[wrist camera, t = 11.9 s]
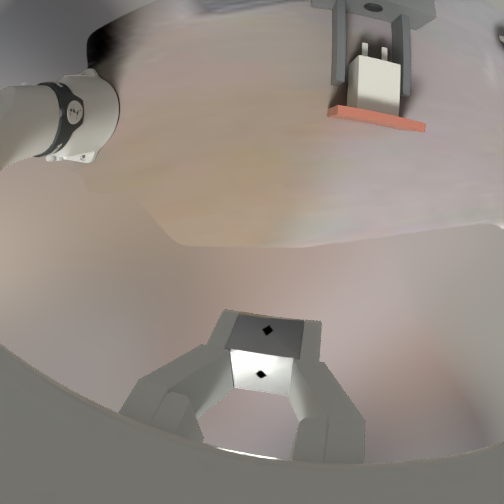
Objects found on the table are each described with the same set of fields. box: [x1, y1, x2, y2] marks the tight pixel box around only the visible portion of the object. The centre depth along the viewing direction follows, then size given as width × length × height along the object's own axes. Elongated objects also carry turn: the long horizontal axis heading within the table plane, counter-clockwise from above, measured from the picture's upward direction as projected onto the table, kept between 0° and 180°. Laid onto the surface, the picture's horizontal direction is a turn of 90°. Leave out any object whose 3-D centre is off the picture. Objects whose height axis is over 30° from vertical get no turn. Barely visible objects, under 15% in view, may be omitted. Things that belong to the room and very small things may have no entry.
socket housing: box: [311, 0, 436, 98], centre depth 29 cm, size 18×18×8 cm
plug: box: [327, 42, 426, 132], centre depth 31 cm, size 12×12×10 cm
